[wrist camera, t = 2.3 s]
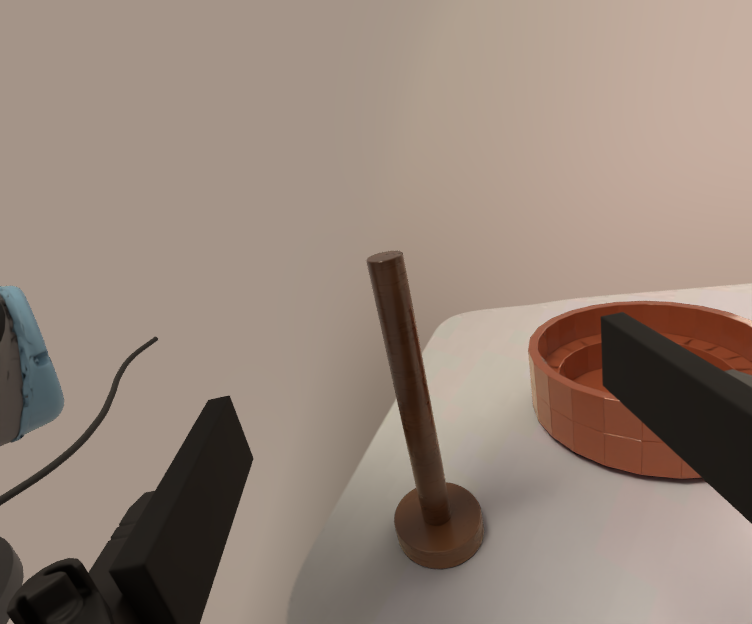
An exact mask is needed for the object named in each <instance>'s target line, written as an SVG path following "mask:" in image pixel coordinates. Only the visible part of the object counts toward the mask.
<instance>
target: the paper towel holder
mask: <svg viewBox="0 0 752 624" xmlns="http://www.w3.org/2000/svg"><path fill="white" fill-rule="evenodd" d="M367 266H368V270H369V275H370V279H371V283H372V288H373V293H374V297H375V302H376V307H377V311H378V316H379V320H380V324H381V329H382V334H383V338H384V343H385V348H386V352H387V357H388V361H389V366H390V370H391V374H392V379H393V384H394V388H395V393H396V398H397V402H398V407H399V411H400V416H401V420H402V425H403V429H404V434H405V439H406V443H407V448H408V452H409V457H410V461H411V466H412V470H413V475H414V479H415V484H416V488H415V489H413V490H412V491H410V492H409V493H408V494H407V495H406V496H404V498H403V499H402V500H401V501H400V503H399V505H398V507H397V509H396V512H395V517H394V523H395V528H396V532H397V536H398V540H399V544H400V546H401V548H402V550H403V551H404V553H405V554H406V555H407V556H408V557H409V558H410V559H411V560H412V561H414V562H416V563H417V564H419V565H422V566H425V567H428V568H434V569H444V568H450V567H454V566H457V565H459V564H461V563H463V562H465V561H467V560H468V559H469V558H471V557H472V556H473V555H474V554H475V552H476V551H477V550H478V548H479V547H480V545H481V542H482V539H483V535H484V526H483V520H482V513H481V508H480V505H479V503H478V501H477V500H476V498H475V497H474V496H473V495H472V494H471V493H470V492H469V491H468V490H466V489H465V488H463V487H461V486H458V485H456V484H452V483H447V482H446V481H445V475H444V470H443V465H442V460H441V454H440V449H439V444H438V438H437V433H436V428H435V422H434V417H433V412H432V406H431V401H430V396H429V390H428V385H427V380H426V374H425V369H424V364H423V358H422V353H421V348H420V342H419V337H418V332H417V327H416V321H415V316H414V311H413V306H412V300H411V295H410V289H409V284H408V279H407V273H406V268H405V263H404V258H403V253H402V252H400V251H388V252H382V253H378V254H375V255H373V256H371V257H369V258H368V259H367Z"/></svg>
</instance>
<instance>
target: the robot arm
mask: <svg viewBox="0 0 752 624" xmlns="http://www.w3.org/2000/svg"><path fill="white" fill-rule="evenodd" d="M157 340H158V338H157V337H154V338H153V339H151V340H150V341H149V342H147V343H146V344H144V345H143V346H141V347H140V348H139V349H137V350H136V351H135V352H134V353H132V354H131V355H130V356H129V357H128V358H127V359H126V361H125V362H124V363H123V364H122V366H121V367H120V369H119V371H118V372H117V374H116V376H115V378H114V381H113V384H112V387H111V390H110V392H109V395H108V397H107V400H106V401H105V404H104V406H103V408H102V410H101V412H100V413H99V415H98V416H97V417H96V419H95V420H94V421H93V423H92V424H91V425H90V426H89V428H88V429H87V430H86V431H85V433H84V434H83V435H82V436H81V437H80V438H79V439H78V440H77V441H76V442H75V443H74V444H73V445H72V446H71V447H70V448H69V449H68V450H66V451H65V452H64V453H63V454H62V455H60V456H59V457H58V458H57V459H55V460H54V461H53V462H51V463H50V464H49V465H47V466H46V467H45V468H43V469H42V470H40V471H39V472H38V473H36V474H35V475H33V476H32V477H30V478H29V479H27V480H26V481H24V482H22V483H21V484H19V485H18V486H16V487H14V488H13V489H11V490H9V491H8V492H6V493H5V494H3V495H1V496H0V505H2V504H3V503H5V502H7V501H8V500H10V499H11V498H13V497H14V496H16V495H18V494H19V493H21V492H22V491H24V490H25V489H27V488H28V487H30V486H31V485H33V484H35V483H36V482H38V481H39V480H40V479H42V478H43V477H45V476H46V475H48V474H49V473H50V472H52V471H53V470H54V469H56V468H57V467H58V466H59V465H61V464H62V463H63V462H64V461H66V460H67V459H68V458H69V457H70V456H71V455H73V454H74V453H75V452H76V451H77V450H78V449H79V448H80V447H81V446H82V445H83V444H84V443H85V442H86V441H87V440H88V439H89V437H90V436H91V435H92V434H93V433H94V431H95V430H96V429H97V427H98V426H99V425H100V423H101V422H102V420H103V419H104V418H105V416H106V414H107V413H108V411H109V408H110V406H111V403H112V401H113V399H114V396H115V394H116V391H117V387H118V384H119V381H120V379H121V377H122V375H123V373H124V371H125V369H126V368H127V366H128V365H129V363H130V362H131V361H132V360H133V359H134V358H135V357H136V356H137V355H138V354H140V353H141V352H142V351H143V350H145V349H146V348H147V347H149V346H150V345H152V344H153V343H154V342H156V341H157ZM601 348H602V382H603V386H604V387H605V388H606V389H607V390H608V391H609V392H610V393H611V394H612V395H613V396H614V397H616V398H617V399H618V400H619V401H620V402H621V403H622V404H623V405H624V406H625V407H626V408H627V409H629V410H630V411H631V412H632V413H633V414H634V415H635V416H636V417H637V418H638V419H639V420H640V421H641V422H643V423H644V424H645V425H646V426H647V427H648V428H649V429H650V430H651V431H652V432H653V433H654V434H656V435H657V436H658V437H659V438H660V439H661V440H662V441H663V442H664V443H665V444H666V445H667V446H668V447H670V448H671V449H672V450H673V451H674V452H675V453H676V454H677V455H678V456H679V457H680V458H681V459H682V460H684V461H685V462H686V463H687V464H688V465H689V466H690V467H691V468H692V469H693V470H694V471H695V472H697V473H698V474H699V475H700V476H701V477H702V478H703V479H704V480H705V481H706V482H707V483H708V484H709V485H711V486H712V487H713V488H714V489H715V490H716V491H717V492H718V493H719V494H720V495H721V496H722V497H724V498H725V499H726V500H727V501H728V502H729V503H730V504H731V505H732V506H733V507H734V508H735V509H736V510H738V511H739V512H740V513H741V514H742V515H743V516H744V517H745V518H746V519H747V520H748V521H749V522H750V523H752V375H749V374H746V373H743V372H740V371H737V370H733V369H731V370H726V371H723V370H721V369H720V368H718V367H716V366H714V365H713V364H711V363H709V362H708V361H706V360H704V359H702V358H701V357H699V356H697V355H696V354H694V353H692V352H690V351H689V350H687V349H685V348H684V347H682V346H680V345H678V344H677V343H675V342H673V341H672V340H670V339H668V338H667V337H665V336H663V335H661V334H660V333H658V332H656V331H655V330H653V329H651V328H649V327H648V326H646V325H644V324H643V323H641V322H639V321H637V320H636V319H634V318H632V317H631V316H629V315H627V314H625V313H624V312H620V313H615V314H610V315H606V316H601ZM63 406H64V398H63V393H62V390H61V386H60V383H59V381H58V378H57V375H56V372H55V369H54V367H53V364H52V362H51V359H50V357H49V356H48V351H47V349H46V346H45V343H44V340H43V337H42V335H41V332H40V329H39V327H38V325H37V322H36V320H35V317H34V315H33V313H32V310H31V308H30V306H29V303H28V301H27V299H26V297H25V295H24V293H23V292H22V291H21V290H20V288H18V287H15V286H5V287H1V286H0V446H2V445H4V444H6V443H9V442H14V441H17V440H19V439H21V438H22V437H23V436H24V435H25V434H27V433H29V432H31V431H33V430H35V429H37V428H39V427H41V426H43V425H45V424H47V423H49V422H51V421H53V420H54V419H55V418H56V417H58V416H59V414H60V413H61V411H62V409H63ZM252 461H253V456H252V453H251V451H250V448H249V446H248V443H247V440H246V438H245V435H244V432H243V430H242V427H241V424H240V422H239V419H238V417H237V414H236V411H235V409H234V406H233V403H232V401H231V398H230V396H225V397H220V398H216V399H211V400H208V402H207V403H206V405H205V407H204V408H203V410H202V412H201V414H200V415H199V417H198V419H197V420H196V422H195V424H194V425H193V427H192V429H191V431H190V432H189V434H188V436H187V437H186V439H185V441H184V443H183V444H182V446H181V448H180V449H179V451H178V453H177V454H176V456H175V458H174V460H173V461H172V463H171V465H170V467H169V468H168V470H167V472H166V473H165V475H164V477H163V478H162V480H161V482H160V484H159V485H158V487H157V489H156V490H155V491H151V492H146V493H144V494H143V495H142V496H141V497H140V498H139V499H138V500H137V501H136V502H135V503H134V504H133V505H132V506H131V507H130V508H129V509H128V511H127V513H126V514H125V516H124V517H123V519H122V520H121V522H120V524H119V527H117V528H116V530H115V531H114V533H113V535H112V536H111V541H108V543H107V544H106V546H105V547H104V549H103V551H102V552H101V554H100V556H99V557H98V558H97V560H96V562H95V563H94V565H93V567H92V568H91V570H90V571H89V573H88V572H87V570H86V569H85V567H84V565H83V564H82V563H81V562H80V561H79V560H78V559H74V558H68V559H64V560H60V561H57V562H55V563H53V564H51V565H49V566H47V567H45V568H43V569H42V570H40V571H39V572H38V573H36V574H35V575H34V576H32V577H31V578H30V579H28V580H27V581H26V582H25V583H24V584H23V585H22V586H21V587H20V588H19V589H18V590H17V591H16V593H15V594H14V596H13V597H12V599H11V600H10V602H9V604H8V608H7V615H8V616H9V617H10V618H11V620H12V621H13V623H14V624H200V621H201V618H202V615H203V612H204V609H205V606H206V603H207V599H208V597H209V594H210V591H211V587H212V584H213V581H214V578H215V575H216V572H217V569H218V566H219V563H220V560H221V557H222V554H223V551H224V547H225V544H226V541H227V538H228V535H229V532H230V529H231V526H232V523H233V520H234V517H235V514H236V510H237V507H238V504H239V501H240V498H241V495H242V492H243V489H244V486H245V483H246V480H247V477H248V474H249V471H250V467H251V464H252Z"/></svg>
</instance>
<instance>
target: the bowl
mask: <svg viewBox="0 0 752 624" xmlns="http://www.w3.org/2000/svg"><path fill="white" fill-rule="evenodd" d="M620 312H624V313H625V314H627V315H629V316H631V317H632V318H634V319H636V320H637V321H639V322H641V323H643V324H644V325H646V326H648V327H649V328H651V329H653V330H655V331H656V332H658V333H660V334H661V335H663V336H665V337H667V338H668V339H670V340H672V341H673V342H675V343H677V344H678V345H680V346H682V347H684V348H685V349H687V350H689V351H690V352H692V353H694V354H696V355H697V356H699V357H701V358H702V359H704V360H706V361H708V362H709V363H711V364H713V365H714V366H716V367H718V368H720V369H721V370H723V371H726V370H731V369H733V370H737V371H740V372H743V373H746V374H749V375H752V320H749V319H746V318H743V317H741V316H738V315H735V314H732V313H729V312H726V311H721V310H717V309H713V308H708V307H704V306H698V305H690V304H682V303H675V302H659V301H631V302H613V303H606V304H599V305H592V306H588V307H584V308H580V309H576V310H572V311H569V312H566V313H564V314H561V315H559V316H556V317H554V318H552V319H550V320H549V321H547V322H546V323H544V324H543V325H541V326H540V327H538V328H537V330H536V331H535V332H534V334H533V335H532V336H531V337H530V341H529V348H528V355H529V366H530V377H531V388H532V399H533V407H534V410H535V413H536V415H537V418H538V421H539V422H540V423H541V424H542V426H543V427H544V428H545V429H546V430H547V431H548V433H549V434H550V435H551V436H552V437H553V438H555V439H556V440H558V441H559V442H561V443H562V444H563V445H565V446H566V447H568V448H569V449H571V450H572V451H574V452H575V453H577V454H579V455H582V456H584V457H586V458H589V459H591V460H593V461H596V462H598V463H600V464H602V465H605V466H608V467H612V468H616V469H620V470H624V471H628V472H632V473H636V474H640V475H641V474H642V475H648V476H658V477H668V478H678V479H686V478H701V476H700V475H699V474H698V473H697V472H695V471H694V470H693V469H692V468H691V467H690V466H689V465H688V464H687V463H686V462H685V461H684V460H682V459H681V458H680V457H679V456H678V455H677V454H676V453H675V452H674V451H673V450H672V449H671V448H670V447H668V446H667V445H666V444H665V443H664V442H663V441H662V440H661V439H660V438H659V437H658V436H657V435H656V434H654V433H653V432H652V431H651V430H650V429H649V428H648V427H647V426H646V425H645V424H644V423H643V422H641V421H640V420H639V419H638V418H637V417H636V416H635V415H634V414H633V413H632V412H631V411H630V410H629V409H627V408H626V407H625V406H624V405H623V404H622V403H621V402H620V401H619V400H618V399H617V398H616V397H614V396H613V395H612V394H611V393H610V392H609V391H608V390H607V389H606V388H605V387H604V386H603V382H602V348H601V316H606V315H610V314H615V313H620Z"/></svg>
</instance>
